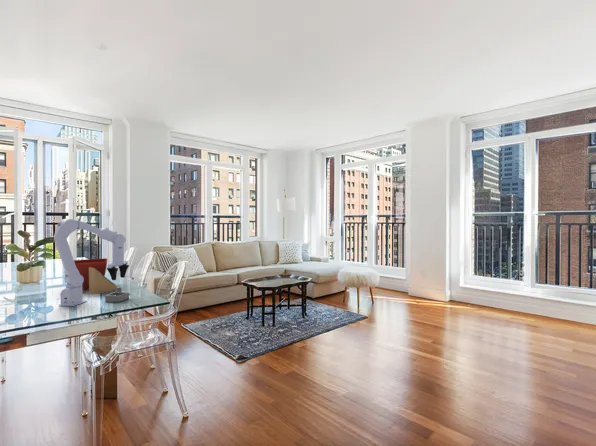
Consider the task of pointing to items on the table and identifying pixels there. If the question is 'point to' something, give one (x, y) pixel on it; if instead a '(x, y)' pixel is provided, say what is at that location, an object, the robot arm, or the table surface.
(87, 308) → the table surface
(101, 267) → the plant pot
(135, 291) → the table surface
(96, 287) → the sandwich container
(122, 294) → the box
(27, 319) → the table surface
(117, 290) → the lid
